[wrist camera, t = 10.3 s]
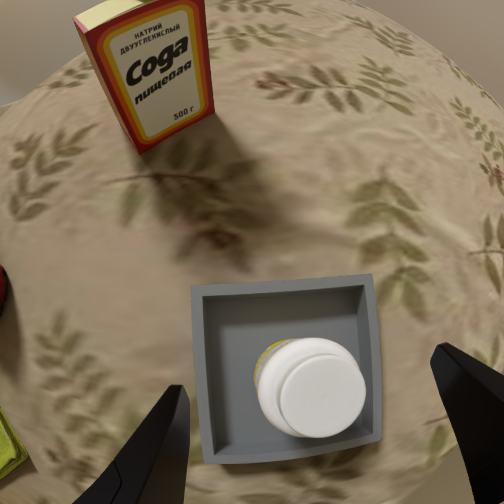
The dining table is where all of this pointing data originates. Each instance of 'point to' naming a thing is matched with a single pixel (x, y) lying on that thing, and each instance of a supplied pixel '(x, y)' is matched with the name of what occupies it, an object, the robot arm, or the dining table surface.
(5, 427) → the dish towel
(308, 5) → the dining table surface
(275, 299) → the tray
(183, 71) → the baking soda box
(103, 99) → the dining table surface
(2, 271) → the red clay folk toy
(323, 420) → the supplement bottle
